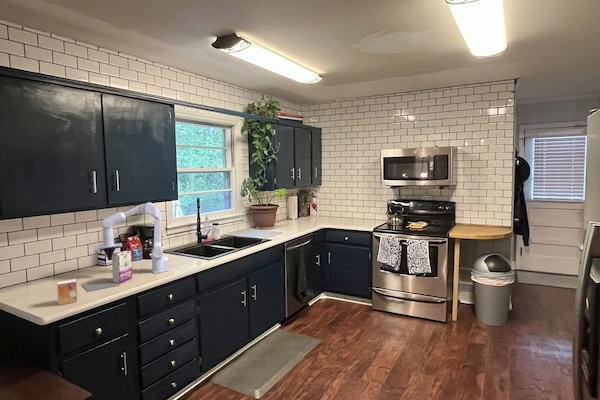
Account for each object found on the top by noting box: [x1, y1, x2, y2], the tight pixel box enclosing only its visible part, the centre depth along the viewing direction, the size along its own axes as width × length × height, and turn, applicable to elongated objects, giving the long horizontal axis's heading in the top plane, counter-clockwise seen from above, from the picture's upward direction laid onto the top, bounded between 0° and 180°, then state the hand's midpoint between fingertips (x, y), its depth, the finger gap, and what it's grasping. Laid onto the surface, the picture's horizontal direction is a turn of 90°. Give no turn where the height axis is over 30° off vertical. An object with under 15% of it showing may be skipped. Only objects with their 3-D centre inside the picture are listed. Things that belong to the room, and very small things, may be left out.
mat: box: [81, 278, 120, 293], centre depth 212 cm, size 16×16×1 cm
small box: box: [56, 278, 78, 306], centre depth 185 cm, size 8×6×10 cm
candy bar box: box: [111, 250, 133, 284], centre depth 218 cm, size 11×5×16 cm, turn 168°
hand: (109, 260), depth 227 cm, fingers closed
